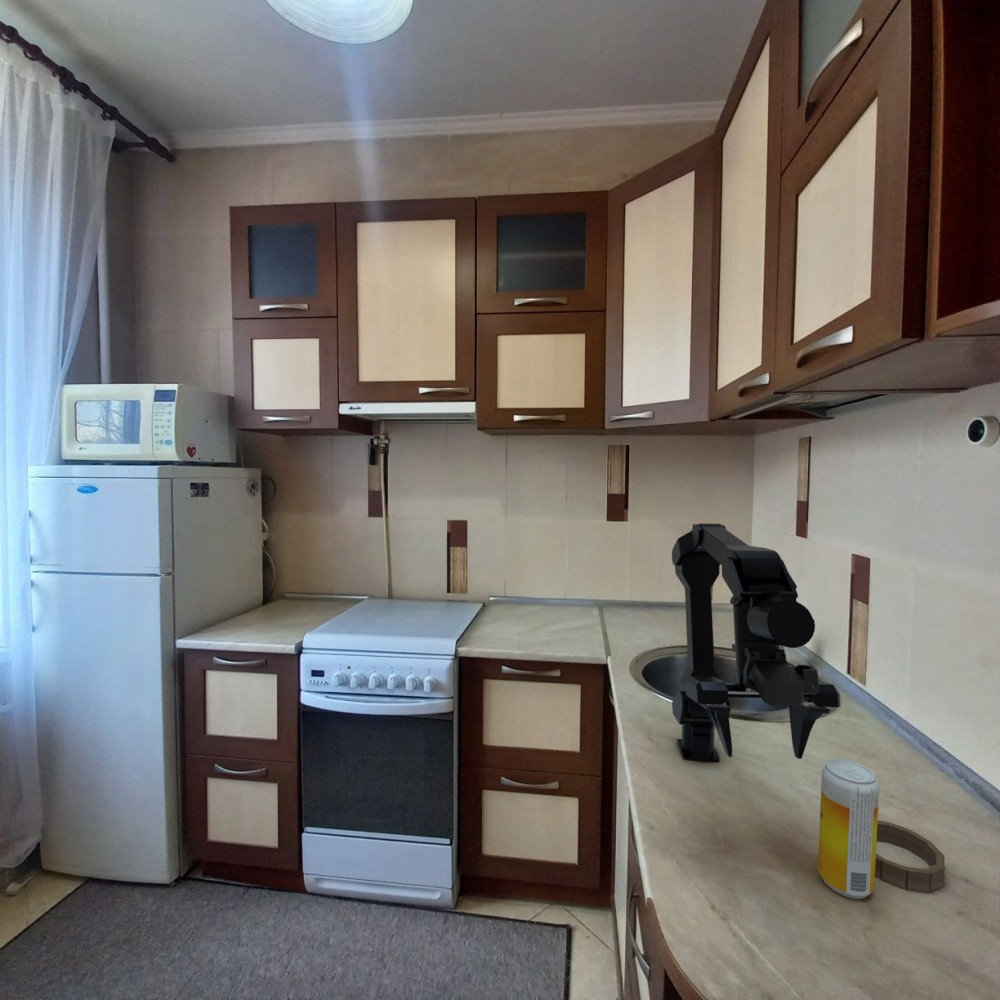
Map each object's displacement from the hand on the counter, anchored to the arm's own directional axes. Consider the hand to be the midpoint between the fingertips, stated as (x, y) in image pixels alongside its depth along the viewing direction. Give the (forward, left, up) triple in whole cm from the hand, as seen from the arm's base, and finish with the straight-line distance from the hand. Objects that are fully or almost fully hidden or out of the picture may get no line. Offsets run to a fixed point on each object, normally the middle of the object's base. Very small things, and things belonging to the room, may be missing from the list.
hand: (763, 757), depth 72 cm
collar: (-1, +18, -14) cm, 23 cm away
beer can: (+4, +9, -14) cm, 17 cm away
